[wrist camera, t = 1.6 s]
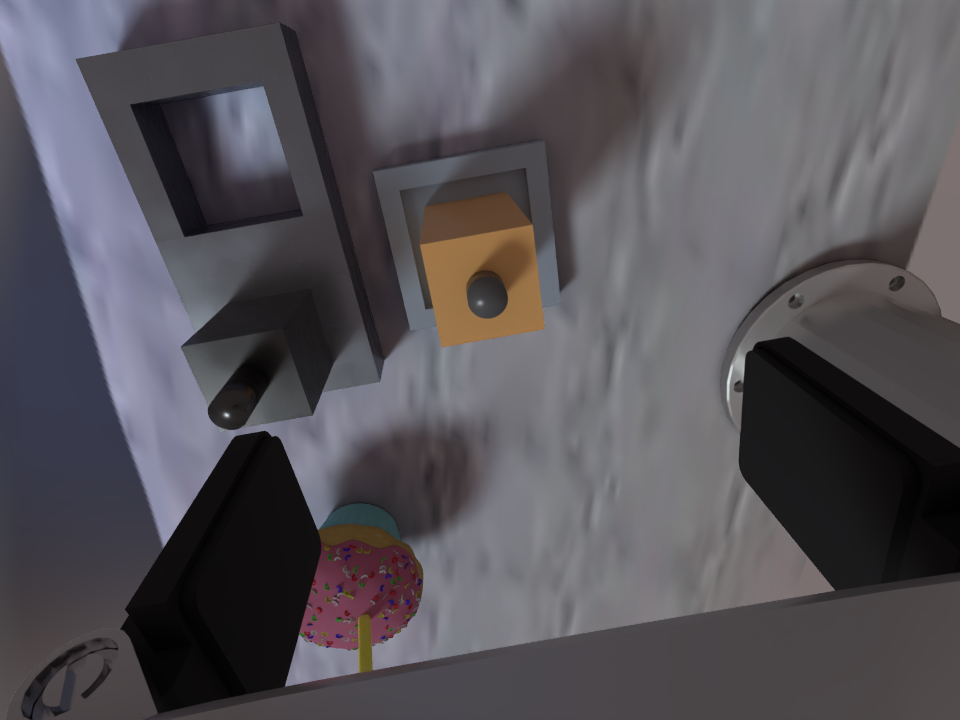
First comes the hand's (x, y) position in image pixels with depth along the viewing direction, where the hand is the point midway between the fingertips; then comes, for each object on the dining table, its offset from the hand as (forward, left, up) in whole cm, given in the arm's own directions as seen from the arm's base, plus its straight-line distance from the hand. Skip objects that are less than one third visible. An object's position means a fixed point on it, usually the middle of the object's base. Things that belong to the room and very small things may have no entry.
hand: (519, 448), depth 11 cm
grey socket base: (+10, -2, -18) cm, 21 cm away
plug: (0, 0, -18) cm, 18 cm away
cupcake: (+10, +18, -18) cm, 28 cm away
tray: (0, 0, -18) cm, 18 cm away
